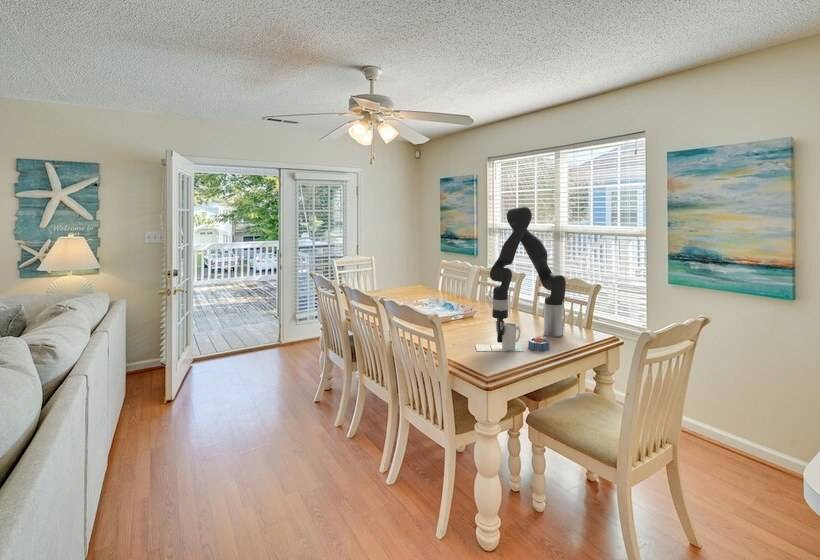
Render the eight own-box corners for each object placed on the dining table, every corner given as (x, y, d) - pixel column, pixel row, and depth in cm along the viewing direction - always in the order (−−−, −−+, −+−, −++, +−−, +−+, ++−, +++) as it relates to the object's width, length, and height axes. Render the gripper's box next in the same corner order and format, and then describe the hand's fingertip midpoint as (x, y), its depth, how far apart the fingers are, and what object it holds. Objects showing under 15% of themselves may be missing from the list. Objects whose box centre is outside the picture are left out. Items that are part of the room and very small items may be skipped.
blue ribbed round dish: (539, 343, 215) (539, 336, 214) (553, 349, 206) (553, 341, 205) (524, 346, 210) (524, 339, 210) (538, 352, 202) (538, 344, 201)
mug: (506, 351, 204) (507, 327, 202) (498, 347, 210) (499, 323, 208) (523, 348, 207) (525, 325, 206) (515, 344, 214) (516, 321, 212)
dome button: (539, 344, 212) (539, 334, 211) (547, 347, 207) (548, 337, 206) (529, 346, 210) (530, 336, 209) (538, 349, 204) (538, 339, 203)
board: (519, 344, 214) (519, 344, 214) (523, 351, 204) (523, 351, 203) (474, 344, 216) (474, 344, 216) (476, 351, 205) (476, 351, 205)
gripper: (491, 304, 213) (490, 338, 216) (493, 311, 200) (493, 346, 203) (506, 305, 213) (505, 338, 216) (510, 311, 200) (509, 346, 202)
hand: (499, 342), depth 209 cm, fingers closed
